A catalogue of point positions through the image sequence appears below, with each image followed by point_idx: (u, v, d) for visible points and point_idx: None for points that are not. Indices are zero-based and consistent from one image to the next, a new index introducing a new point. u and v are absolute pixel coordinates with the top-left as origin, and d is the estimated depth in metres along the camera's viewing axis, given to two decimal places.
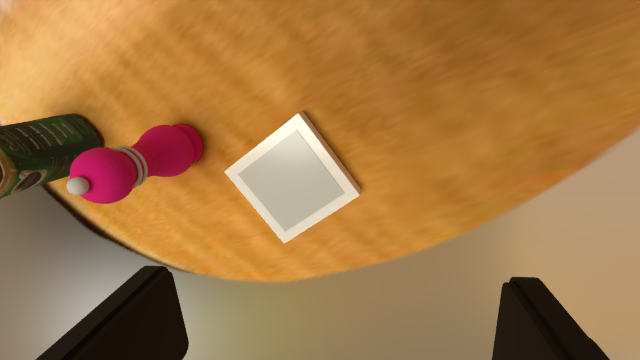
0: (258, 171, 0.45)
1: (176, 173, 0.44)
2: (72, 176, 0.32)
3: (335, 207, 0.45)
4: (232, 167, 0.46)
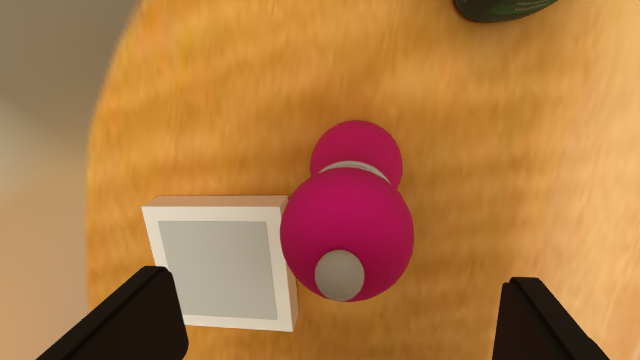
0: (254, 249, 0.30)
1: (311, 170, 0.24)
2: (376, 243, 0.12)
3: None
4: (278, 221, 0.29)
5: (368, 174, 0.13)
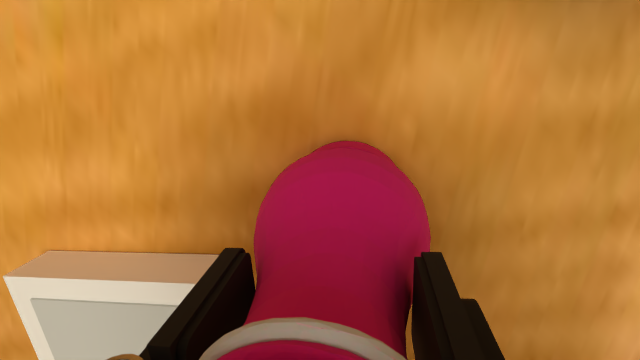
0: None
1: None
2: None
3: None
4: None
5: None
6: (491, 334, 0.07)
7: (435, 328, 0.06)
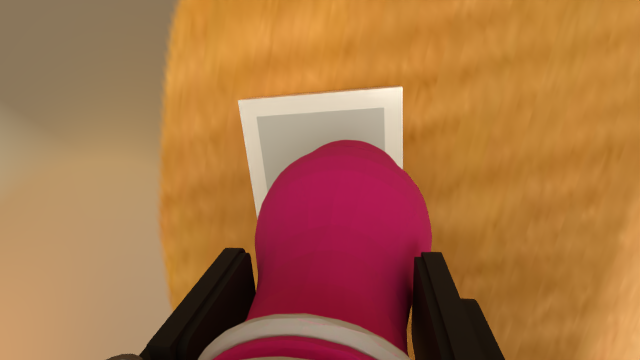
0: (367, 142, 0.27)
1: None
2: None
3: (259, 206, 0.31)
4: (399, 105, 0.26)
5: None
6: (491, 334, 0.07)
7: (435, 328, 0.06)
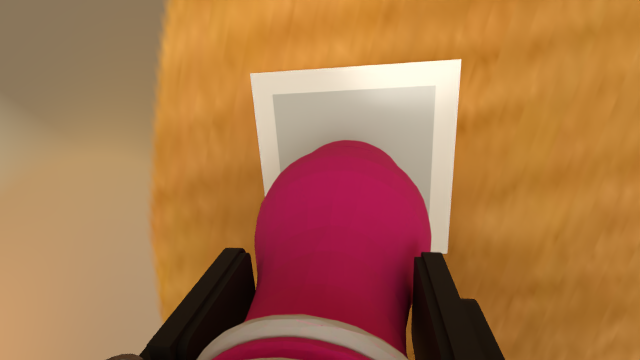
0: (411, 129, 0.22)
1: None
2: None
3: None
4: (455, 83, 0.21)
5: None
6: (491, 334, 0.07)
7: (435, 328, 0.06)
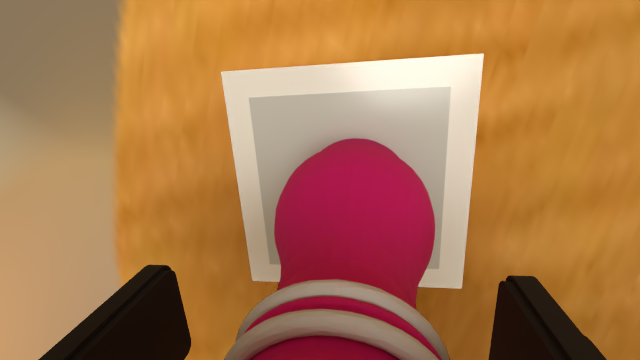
0: (420, 141, 0.18)
1: None
2: None
3: (251, 231, 0.21)
4: (475, 84, 0.16)
5: None
6: None
7: None
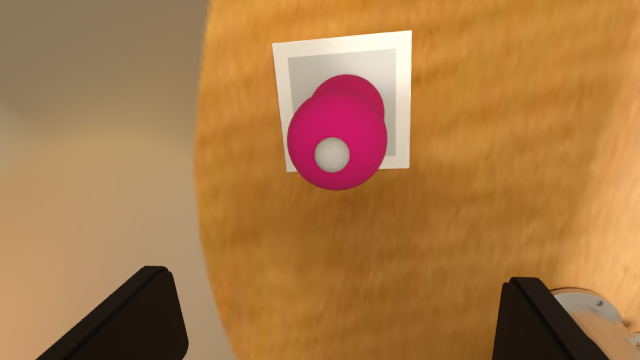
0: (381, 79, 0.33)
1: None
2: (358, 135, 0.17)
3: (286, 139, 0.36)
4: (408, 47, 0.31)
5: (352, 92, 0.18)
6: None
7: None
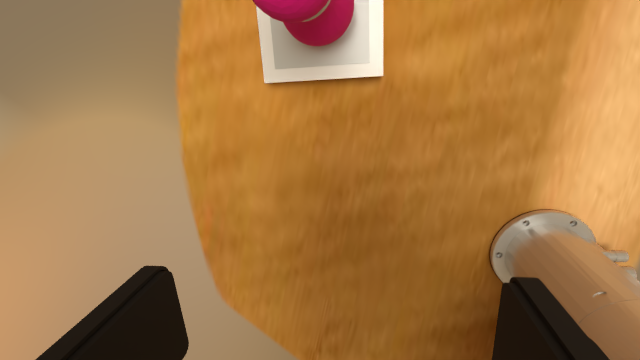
0: None
1: None
2: None
3: (264, 47, 0.37)
4: None
5: None
6: None
7: None
